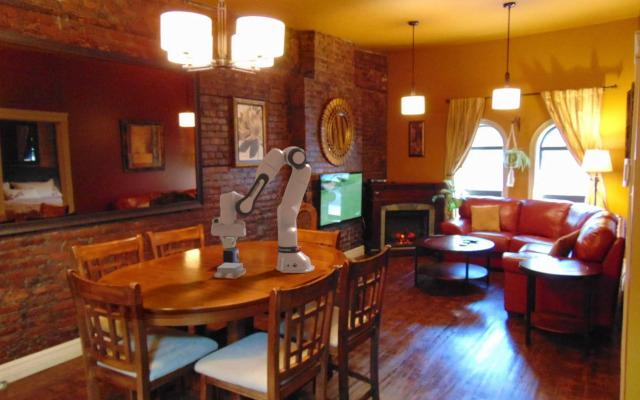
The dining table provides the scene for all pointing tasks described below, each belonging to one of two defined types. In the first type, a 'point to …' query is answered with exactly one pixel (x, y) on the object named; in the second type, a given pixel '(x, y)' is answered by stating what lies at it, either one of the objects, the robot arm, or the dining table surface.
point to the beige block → (228, 242)
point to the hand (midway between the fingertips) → (228, 244)
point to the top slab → (230, 268)
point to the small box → (231, 255)
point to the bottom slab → (230, 274)
